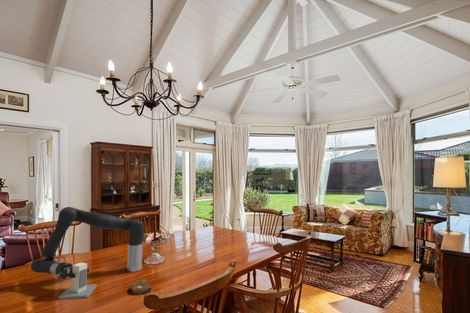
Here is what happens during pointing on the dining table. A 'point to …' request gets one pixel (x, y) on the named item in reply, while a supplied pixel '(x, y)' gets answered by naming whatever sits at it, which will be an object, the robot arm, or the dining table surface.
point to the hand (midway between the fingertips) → (81, 273)
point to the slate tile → (83, 294)
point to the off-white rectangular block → (79, 277)
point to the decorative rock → (140, 287)
